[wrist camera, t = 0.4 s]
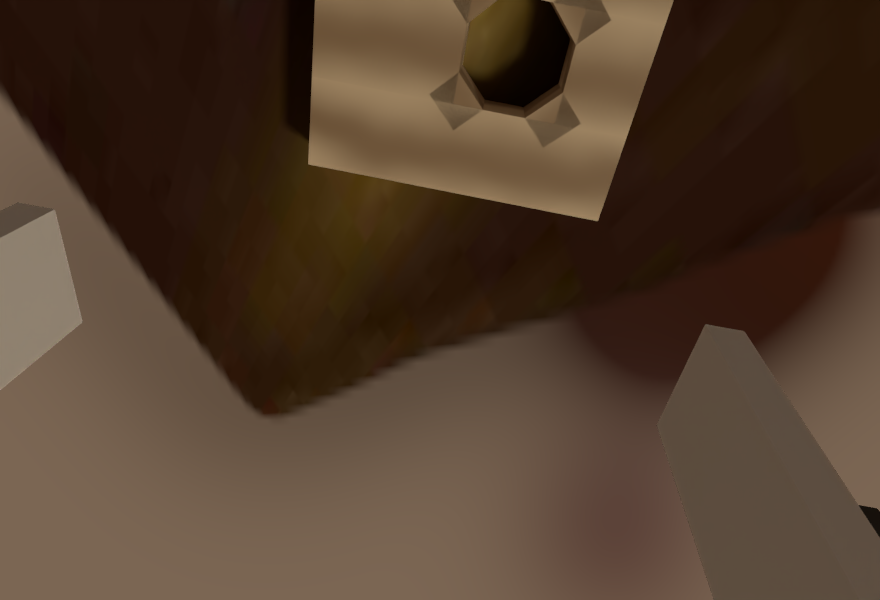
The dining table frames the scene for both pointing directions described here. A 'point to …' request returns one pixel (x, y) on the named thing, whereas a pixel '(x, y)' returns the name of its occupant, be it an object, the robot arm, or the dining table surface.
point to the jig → (477, 101)
